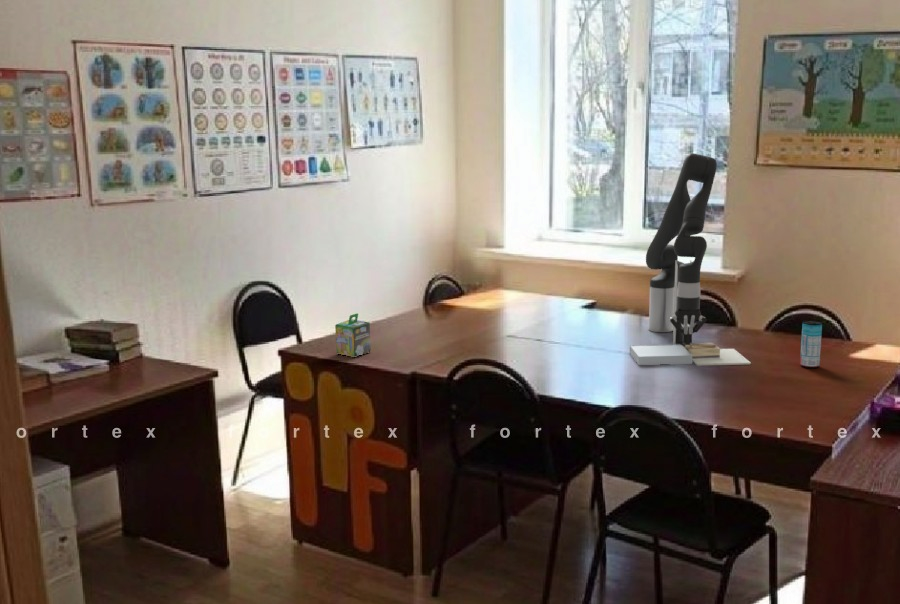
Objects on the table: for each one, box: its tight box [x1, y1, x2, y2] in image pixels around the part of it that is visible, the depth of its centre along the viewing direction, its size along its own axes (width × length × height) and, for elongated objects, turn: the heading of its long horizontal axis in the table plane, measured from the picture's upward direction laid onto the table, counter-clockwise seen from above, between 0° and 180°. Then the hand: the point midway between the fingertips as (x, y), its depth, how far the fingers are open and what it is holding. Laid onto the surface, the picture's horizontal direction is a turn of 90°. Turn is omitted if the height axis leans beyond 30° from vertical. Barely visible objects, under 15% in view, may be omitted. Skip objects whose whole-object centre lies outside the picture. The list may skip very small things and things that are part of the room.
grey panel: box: [672, 260, 693, 348], centre depth 317 cm, size 14×6×30 cm, turn 168°
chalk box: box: [334, 313, 371, 356], centre depth 317 cm, size 9×9×15 cm
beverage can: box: [799, 319, 823, 369], centre depth 288 cm, size 6×6×15 cm
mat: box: [692, 348, 752, 367], centre depth 303 cm, size 18×18×1 cm
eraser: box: [684, 342, 721, 359], centre depth 303 cm, size 6×10×4 cm, turn 96°
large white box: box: [629, 343, 693, 366], centre depth 303 cm, size 14×18×3 cm
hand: (686, 344), depth 302 cm, fingers closed
